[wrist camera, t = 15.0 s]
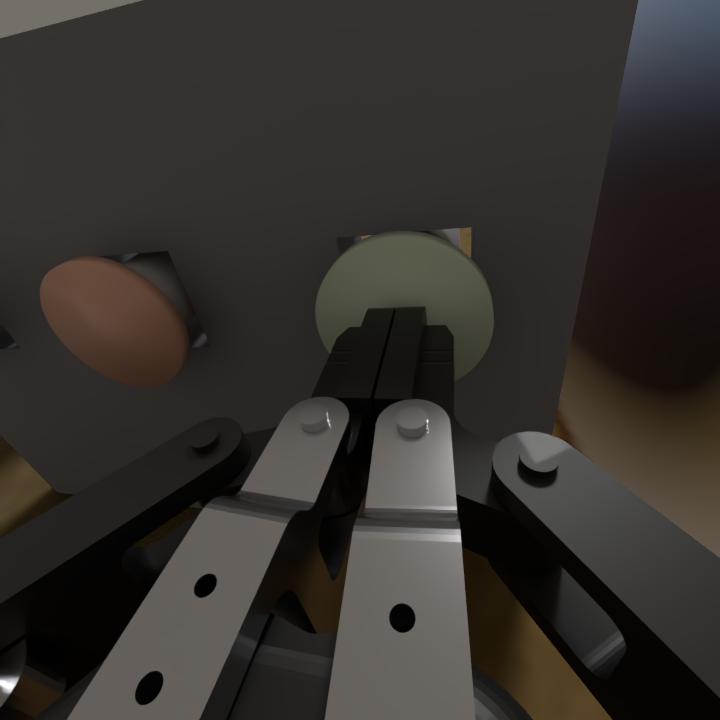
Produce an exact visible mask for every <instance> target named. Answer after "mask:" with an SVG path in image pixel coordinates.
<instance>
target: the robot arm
mask: <svg viewBox="0 0 720 720" xmlns="http://www.w3.org/2000/svg"><path fill="white" fill-rule="evenodd" d="M367 488H368V489H367ZM197 501H198V502H199V503H200V505H201V506H202V508H203V510H202V511H200V512H199V513H197V514H196V515H195V516H193V517H192V518H190V519H189V520H187V521H186V522H184V523H183V524H182V525H180V526H179V527H177V528H176V529H174V530H173V531H171V532H170V533H168V534H167V535H166V536H164V537H163V538H161V539H160V540H158V541H157V542H155V543H154V544H152V545H150V546H147V547H141V548H140V547H135V546H133V544H135V543H136V542H138V541H139V540H141V539H142V538H143V537H145V536H146V535H148V534H149V533H151V532H152V531H154V530H155V529H157V528H158V527H160V526H161V525H163V524H164V523H166V522H167V521H169V520H170V519H172V518H173V517H175V516H176V515H178V514H179V513H181V512H182V511H184V510H185V509H186V508H188V507H189V506H191V505H192V504H194V503H195V502H197ZM462 547H464V548H467V549H469V550H471V551H473V552H475V553H478V554H480V555H482V556H484V557H486V558H488V561H489V563H490V565H491V567H492V568H493V570H494V571H495V572H496V574H497V575H498V576H499V577H500V579H501V580H502V581H503V582H504V584H505V585H506V586H507V587H508V589H509V590H510V591H511V592H512V594H513V595H514V596H515V597H516V599H517V600H518V601H519V602H520V604H521V605H522V606H523V608H524V609H525V610H526V611H527V613H528V614H529V615H530V616H531V618H532V619H533V620H534V621H535V623H536V624H537V625H538V626H539V628H540V629H541V630H542V631H543V633H544V634H545V635H546V636H547V638H548V639H549V640H550V642H551V643H552V644H553V645H554V647H555V648H556V649H557V650H558V652H559V653H560V654H561V655H562V657H563V658H564V659H565V660H566V662H567V663H568V664H569V665H570V667H571V668H572V669H573V670H574V672H575V673H576V674H577V676H578V677H579V678H580V679H581V681H582V682H583V683H584V684H585V686H586V687H587V688H588V689H589V691H590V692H591V693H592V694H593V696H594V697H595V698H596V699H597V701H598V702H599V703H600V704H601V706H602V707H603V708H604V709H605V711H606V712H607V713H608V715H609V716H610V717H611V718H612V720H720V558H719V557H717V556H716V555H715V554H714V553H712V552H711V551H709V550H708V549H707V548H706V547H704V546H703V545H702V544H700V543H699V542H698V541H696V540H695V539H694V538H692V537H691V536H690V535H688V534H687V533H686V532H684V531H683V530H682V529H680V528H679V527H678V526H676V525H675V524H674V523H673V522H671V521H670V520H668V519H667V518H666V517H665V516H663V515H662V514H660V513H659V512H658V511H657V510H655V509H654V508H653V507H651V506H650V505H648V504H647V503H646V502H644V501H643V500H642V499H641V498H639V497H638V496H637V495H635V494H634V493H633V492H631V491H630V490H629V489H627V488H626V487H625V486H623V485H622V484H620V482H618V481H617V480H616V479H614V478H613V477H612V476H610V475H609V474H608V473H606V472H605V471H603V470H602V469H601V468H600V467H598V466H597V465H596V464H594V463H593V462H592V461H590V460H589V459H588V458H586V457H585V456H584V455H582V454H581V453H580V452H578V451H577V450H576V449H574V448H573V447H572V446H570V445H569V444H568V443H566V442H564V441H563V440H561V439H559V438H557V437H554V436H552V435H549V434H545V433H540V432H519V433H515V434H512V435H509V436H507V437H505V438H504V439H502V440H501V441H500V442H499V443H498V442H495V441H491V440H488V439H485V438H482V437H479V436H477V435H475V434H473V433H471V432H469V431H468V430H466V429H465V428H464V427H462V426H461V425H460V424H459V422H458V421H457V420H456V418H455V416H454V336H453V334H452V333H451V332H450V330H449V329H448V328H447V326H446V325H427V314H426V307H425V306H420V307H397V309H396V308H395V307H392V308H368V309H367V311H366V314H365V316H364V319H363V322H362V325H361V327H348V328H347V329H346V330H345V331H344V332H343V333H342V334H341V335H340V336H338V337H337V339H336V341H335V343H334V346H333V348H332V350H331V353H330V355H329V357H328V359H327V363H326V364H325V366H324V368H323V371H322V373H321V375H320V377H319V380H318V382H317V384H316V387H315V389H314V391H313V393H312V396H311V398H310V399H307V400H304V401H302V402H300V403H298V404H296V405H295V406H293V407H292V408H291V409H290V410H289V411H288V412H287V413H286V414H285V416H284V417H283V419H282V421H281V422H280V424H279V426H277V427H273V428H269V429H264V430H260V431H255V432H250V433H245V434H244V433H243V431H242V428H241V426H240V425H239V423H238V422H237V421H235V420H233V419H231V418H226V417H217V418H211V419H208V420H205V421H202V422H200V423H198V424H196V425H194V426H192V427H191V428H189V429H187V430H186V431H184V432H182V433H180V434H179V435H177V436H175V437H173V438H172V439H170V440H168V441H167V442H165V443H163V444H161V445H160V446H158V447H156V448H154V449H153V450H151V451H149V452H148V453H146V454H144V455H142V456H141V457H139V458H137V459H135V460H134V461H132V462H130V463H129V464H127V465H125V466H123V467H122V468H120V469H118V470H116V471H115V472H113V473H111V474H110V475H108V476H106V477H104V478H103V479H101V480H99V481H97V482H96V483H94V484H92V485H91V486H89V487H87V488H85V489H84V490H82V491H80V492H78V493H77V494H75V495H73V496H72V497H70V498H68V499H66V500H65V501H63V502H61V503H59V504H58V505H56V506H54V507H53V508H51V509H49V510H47V511H46V512H44V513H42V514H41V515H39V516H37V517H35V518H34V519H32V520H30V521H28V522H27V523H25V524H23V525H22V526H20V527H18V528H16V529H15V530H13V531H11V532H9V533H8V534H6V535H4V536H3V537H1V538H0V720H533V719H532V718H531V717H530V716H529V714H528V713H527V712H526V710H525V709H524V708H523V707H522V706H521V705H520V704H519V703H518V702H517V701H516V700H515V699H514V698H513V697H512V696H511V695H510V694H509V693H508V692H507V691H506V690H505V689H504V688H503V687H501V686H500V685H499V684H498V683H497V682H496V681H494V680H493V679H492V678H491V677H490V676H488V675H487V674H485V673H484V672H482V671H481V670H479V669H478V668H476V667H475V666H473V665H471V656H470V644H469V631H468V619H467V606H466V594H465V582H464V569H463V557H462ZM344 584H345V586H344ZM343 589H344V593H343ZM342 595H343V600H342Z"/></svg>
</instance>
